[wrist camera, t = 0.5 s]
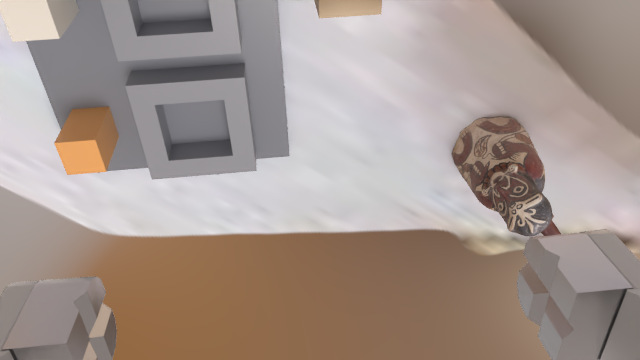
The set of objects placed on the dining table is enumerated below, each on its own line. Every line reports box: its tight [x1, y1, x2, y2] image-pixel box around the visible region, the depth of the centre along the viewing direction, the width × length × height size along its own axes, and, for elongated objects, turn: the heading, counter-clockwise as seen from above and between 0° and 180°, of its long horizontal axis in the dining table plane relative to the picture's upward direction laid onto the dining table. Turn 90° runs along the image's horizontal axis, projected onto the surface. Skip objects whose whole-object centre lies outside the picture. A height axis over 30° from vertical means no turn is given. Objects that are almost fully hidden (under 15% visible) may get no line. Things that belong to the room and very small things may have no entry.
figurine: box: [452, 117, 561, 236], centre depth 47 cm, size 7×7×12 cm
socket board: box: [0, 0, 289, 179], centre depth 40 cm, size 21×19×6 cm
